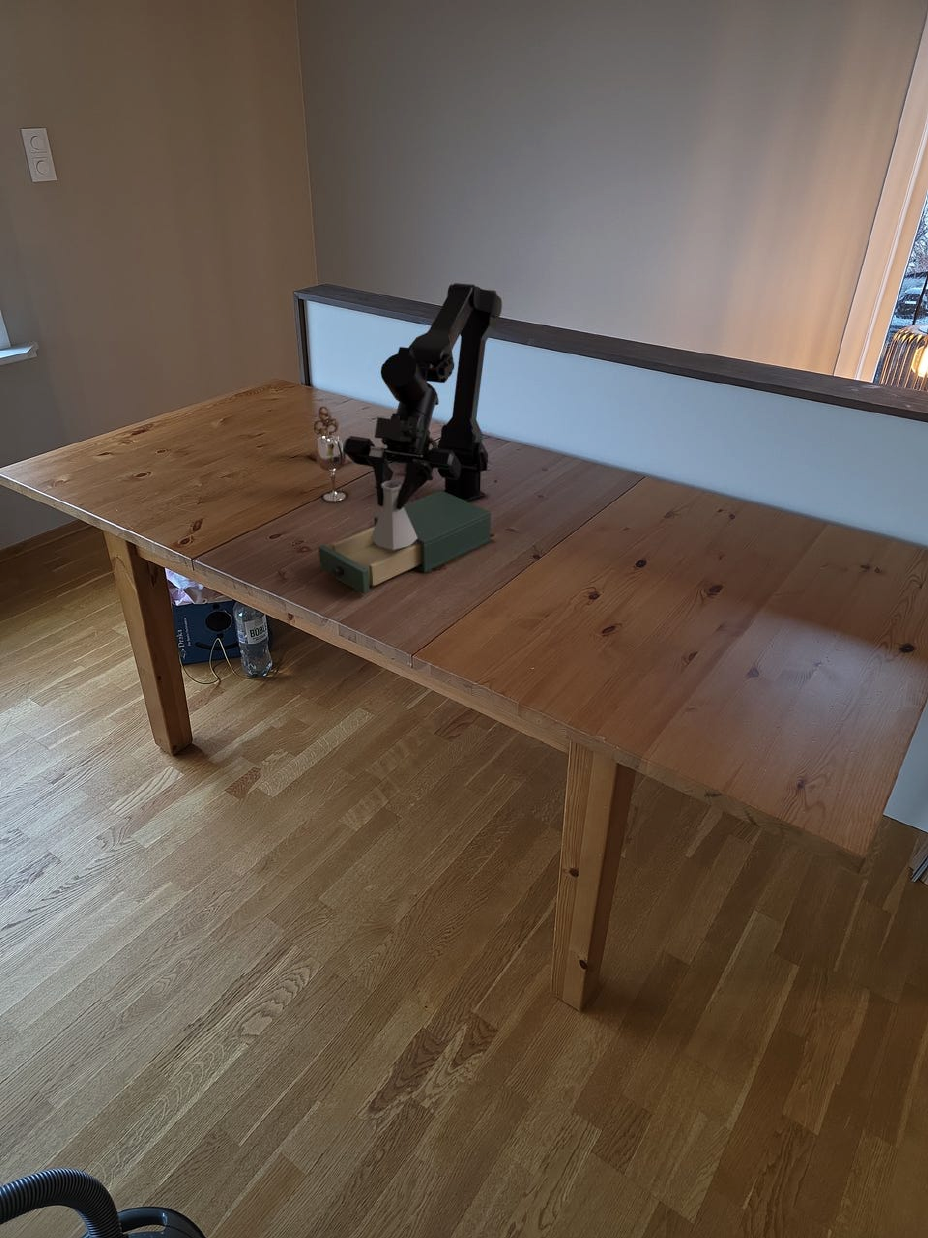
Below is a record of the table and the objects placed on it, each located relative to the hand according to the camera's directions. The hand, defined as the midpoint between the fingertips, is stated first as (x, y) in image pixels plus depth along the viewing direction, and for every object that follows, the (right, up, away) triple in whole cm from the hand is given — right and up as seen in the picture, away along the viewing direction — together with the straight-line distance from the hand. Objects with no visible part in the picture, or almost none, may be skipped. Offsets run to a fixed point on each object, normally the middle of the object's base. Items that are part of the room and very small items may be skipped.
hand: (388, 507), depth 128 cm
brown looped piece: (-18, +17, +50) cm, 56 cm away
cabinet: (+6, -4, +18) cm, 19 cm away
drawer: (-3, -9, +9) cm, 13 cm away
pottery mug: (+1, +15, +48) cm, 50 cm away
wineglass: (-14, +7, +34) cm, 38 cm away
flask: (0, -5, +5) cm, 7 cm away
